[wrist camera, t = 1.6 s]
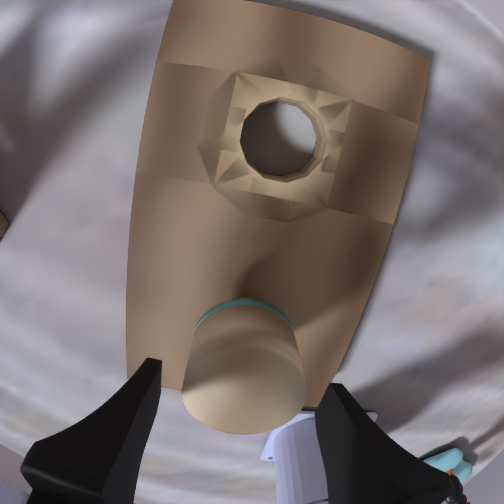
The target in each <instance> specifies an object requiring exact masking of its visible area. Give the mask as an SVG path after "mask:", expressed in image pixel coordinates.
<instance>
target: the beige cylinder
mask: <svg viewBox="0 0 504 504" xmlns="http://www.w3.org/2000/svg"><path fill="white" fill-rule="evenodd" d="M182 398H183V402H184V404H185V406H186V408H187V410H188V411H189V412H190V413H191V415H192V416H193V417H195V418H196V419H197V420H198V421H200V422H201V423H203V424H204V425H206V426H208V427H210V428H213V429H215V430H218V431H221V432H226V433H231V434H241V435H244V434H258V433H263V432H267V431H271V430H274V429H276V428H279V427H281V426H283V425H285V424H286V423H288V422H289V421H291V420H292V419H293V418H294V417H295V416H296V415H298V413H299V412H300V411H301V410H302V408H303V406H304V404H305V402H306V398H307V386H306V382H305V377H304V373H303V369H302V364H301V360H300V356H299V351H298V347H297V343H296V338H295V334H294V330H293V327H292V325H291V323H290V321H289V319H288V318H287V317H286V316H285V315H284V314H283V313H282V312H281V311H280V310H279V309H277V308H276V307H274V306H272V305H270V304H268V303H265V302H262V301H258V300H254V299H252V298H246V297H241V298H236V299H233V300H229V301H225V302H223V303H220V304H218V305H216V306H214V307H212V308H211V309H209V310H208V311H207V312H206V313H205V314H203V316H202V317H201V318H200V319H199V321H198V323H197V325H196V327H195V330H194V334H193V339H192V343H191V348H190V353H189V357H188V362H187V367H186V371H185V376H184V381H183V386H182Z"/></svg>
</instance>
